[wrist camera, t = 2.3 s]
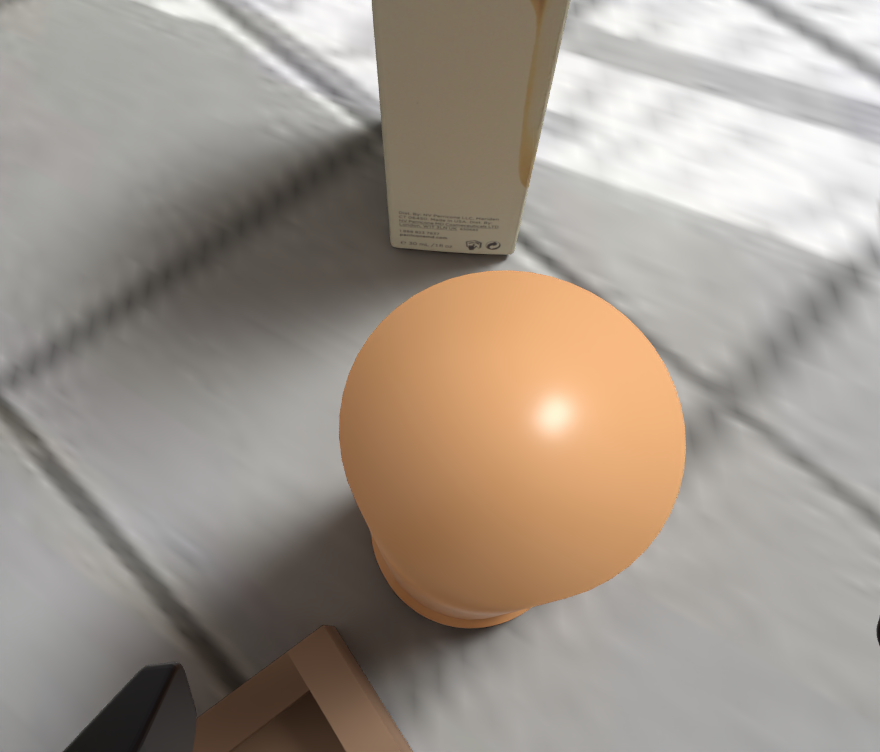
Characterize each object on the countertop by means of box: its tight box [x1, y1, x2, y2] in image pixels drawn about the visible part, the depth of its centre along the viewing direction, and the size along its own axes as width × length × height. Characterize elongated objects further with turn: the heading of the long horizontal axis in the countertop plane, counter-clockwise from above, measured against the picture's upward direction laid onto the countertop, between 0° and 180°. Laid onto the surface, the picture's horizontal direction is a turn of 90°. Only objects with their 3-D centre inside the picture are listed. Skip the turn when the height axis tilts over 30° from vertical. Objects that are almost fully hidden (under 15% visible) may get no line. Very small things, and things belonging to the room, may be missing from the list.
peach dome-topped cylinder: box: [339, 271, 686, 628], centre depth 14 cm, size 5×5×10 cm
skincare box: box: [372, 0, 570, 255], centre depth 18 cm, size 6×4×12 cm
